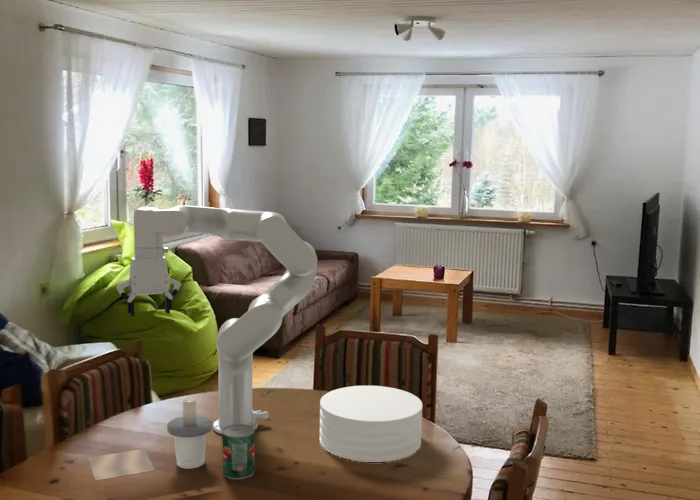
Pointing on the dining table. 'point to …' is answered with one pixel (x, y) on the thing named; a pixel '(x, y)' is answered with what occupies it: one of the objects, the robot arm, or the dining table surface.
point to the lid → (189, 422)
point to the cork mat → (120, 464)
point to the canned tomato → (238, 451)
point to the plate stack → (370, 423)
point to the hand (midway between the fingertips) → (149, 314)
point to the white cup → (190, 451)
